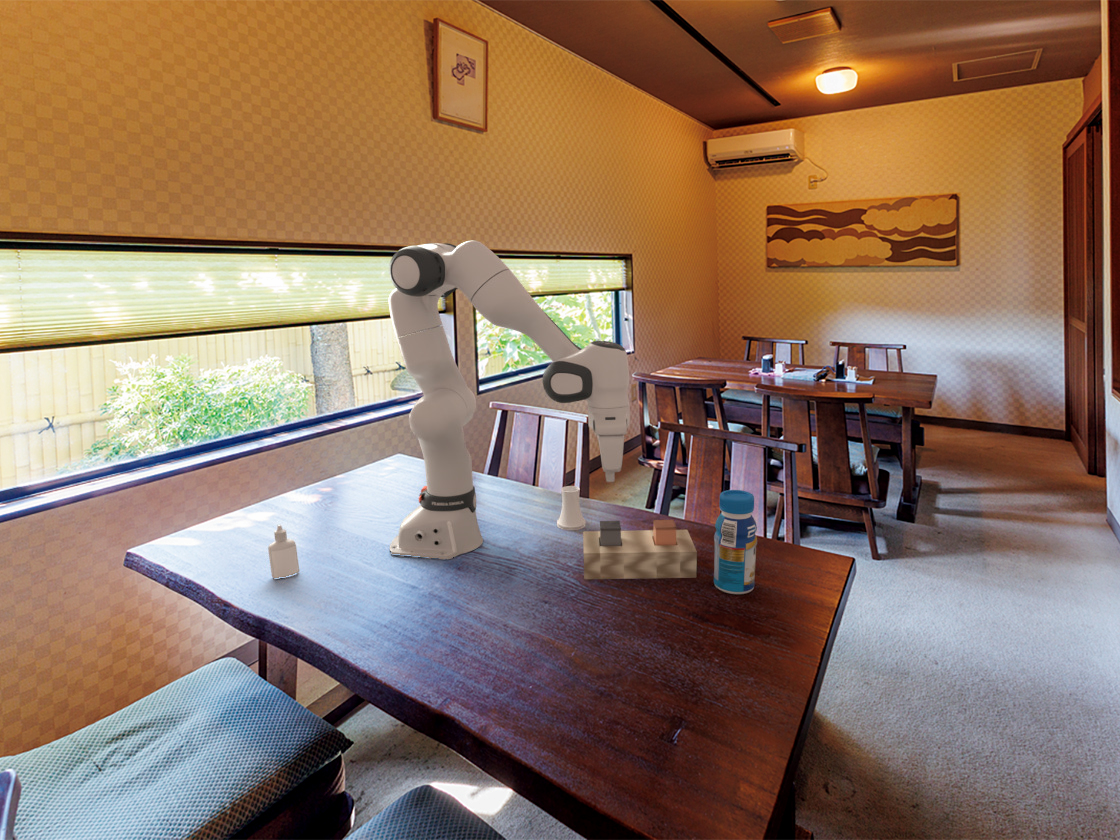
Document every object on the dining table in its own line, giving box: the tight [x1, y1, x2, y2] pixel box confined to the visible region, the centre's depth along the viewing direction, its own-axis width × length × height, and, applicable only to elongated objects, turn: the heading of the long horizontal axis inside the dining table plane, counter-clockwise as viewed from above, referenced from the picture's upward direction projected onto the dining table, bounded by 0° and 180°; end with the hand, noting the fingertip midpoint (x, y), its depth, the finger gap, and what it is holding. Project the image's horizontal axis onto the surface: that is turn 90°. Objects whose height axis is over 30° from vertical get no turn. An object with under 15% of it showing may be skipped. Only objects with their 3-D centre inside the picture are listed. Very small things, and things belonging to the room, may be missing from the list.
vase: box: [556, 485, 587, 531], centre depth 165 cm, size 8×8×10 cm
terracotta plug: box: [653, 519, 677, 545], centre depth 140 cm, size 4×4×6 cm
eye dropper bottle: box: [267, 524, 300, 579], centre depth 141 cm, size 4×6×12 cm
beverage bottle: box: [713, 489, 758, 595], centre depth 129 cm, size 8×8×20 cm
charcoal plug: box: [599, 520, 622, 546], centre depth 140 cm, size 4×4×6 cm
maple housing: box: [582, 529, 698, 580], centre depth 141 cm, size 24×12×6 cm, turn 88°
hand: (610, 480), depth 137 cm, fingers closed
